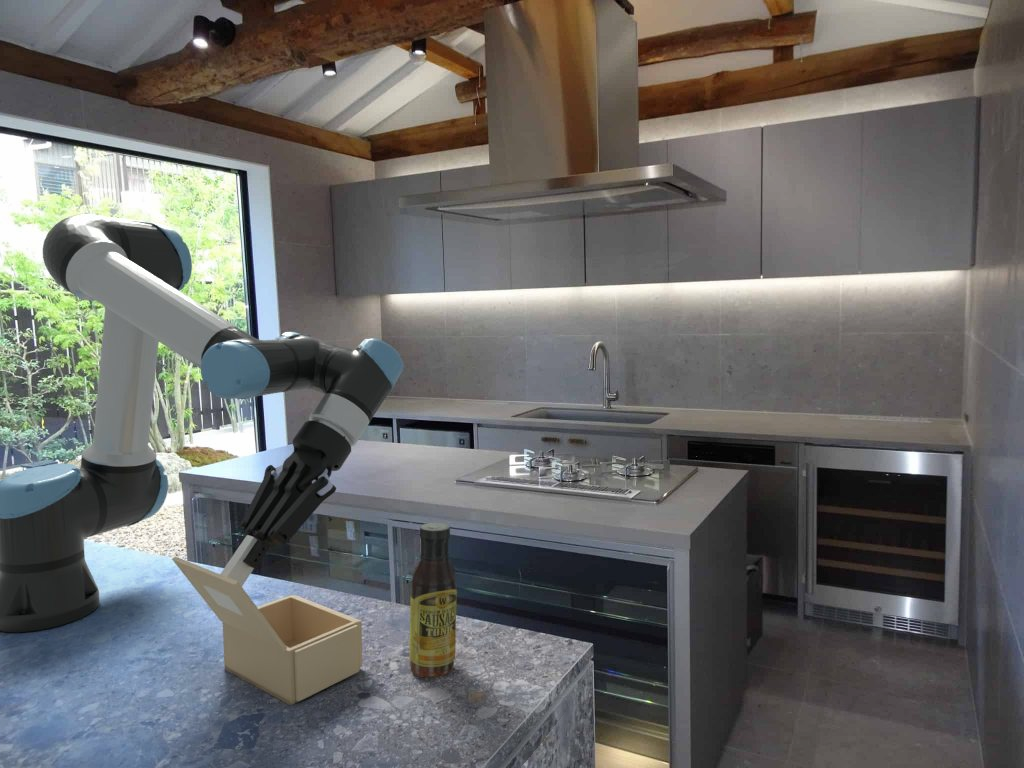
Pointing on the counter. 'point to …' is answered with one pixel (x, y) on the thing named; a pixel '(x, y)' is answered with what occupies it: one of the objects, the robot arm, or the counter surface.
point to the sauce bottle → (433, 605)
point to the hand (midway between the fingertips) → (226, 586)
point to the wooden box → (296, 649)
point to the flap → (229, 602)
